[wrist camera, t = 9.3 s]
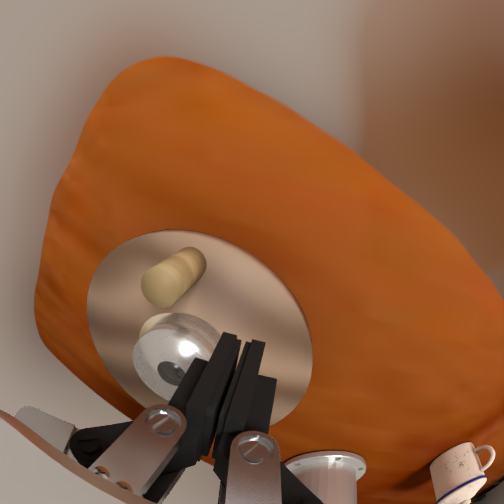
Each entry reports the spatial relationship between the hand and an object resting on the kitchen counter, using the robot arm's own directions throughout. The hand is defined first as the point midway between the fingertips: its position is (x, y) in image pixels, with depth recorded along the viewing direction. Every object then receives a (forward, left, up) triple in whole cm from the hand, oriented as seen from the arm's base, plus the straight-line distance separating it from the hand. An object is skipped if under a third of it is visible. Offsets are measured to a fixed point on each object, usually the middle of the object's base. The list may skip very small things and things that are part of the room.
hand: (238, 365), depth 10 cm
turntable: (-9, +6, -11) cm, 15 cm away
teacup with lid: (-25, -38, -13) cm, 48 cm away
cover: (-8, +5, -9) cm, 13 cm away
